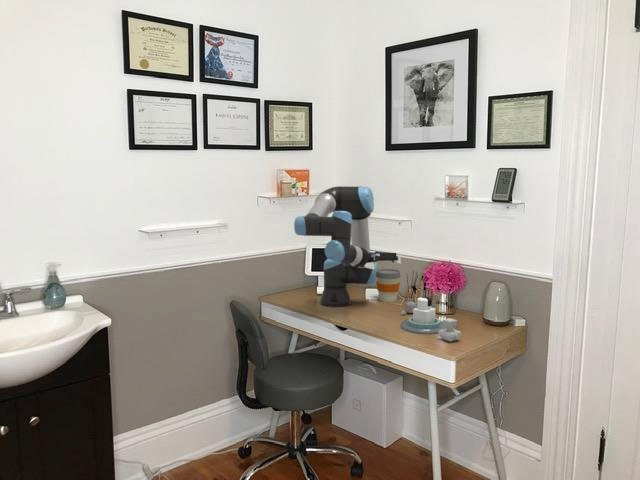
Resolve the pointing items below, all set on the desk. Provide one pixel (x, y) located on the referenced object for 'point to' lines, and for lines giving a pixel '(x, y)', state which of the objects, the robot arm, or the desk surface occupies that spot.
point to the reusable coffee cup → (388, 284)
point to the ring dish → (420, 331)
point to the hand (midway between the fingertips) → (386, 263)
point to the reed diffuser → (410, 300)
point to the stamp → (449, 330)
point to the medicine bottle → (424, 311)
